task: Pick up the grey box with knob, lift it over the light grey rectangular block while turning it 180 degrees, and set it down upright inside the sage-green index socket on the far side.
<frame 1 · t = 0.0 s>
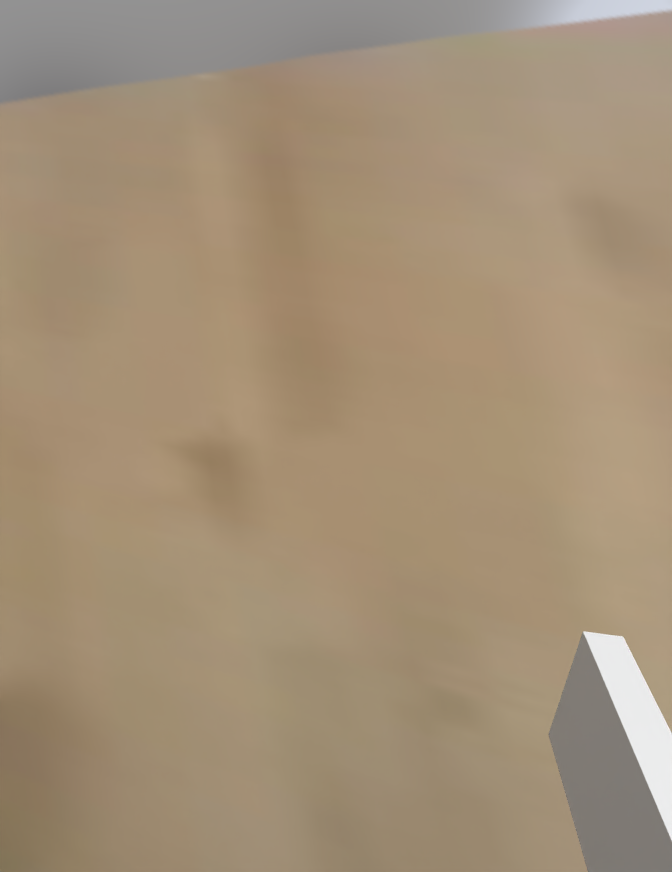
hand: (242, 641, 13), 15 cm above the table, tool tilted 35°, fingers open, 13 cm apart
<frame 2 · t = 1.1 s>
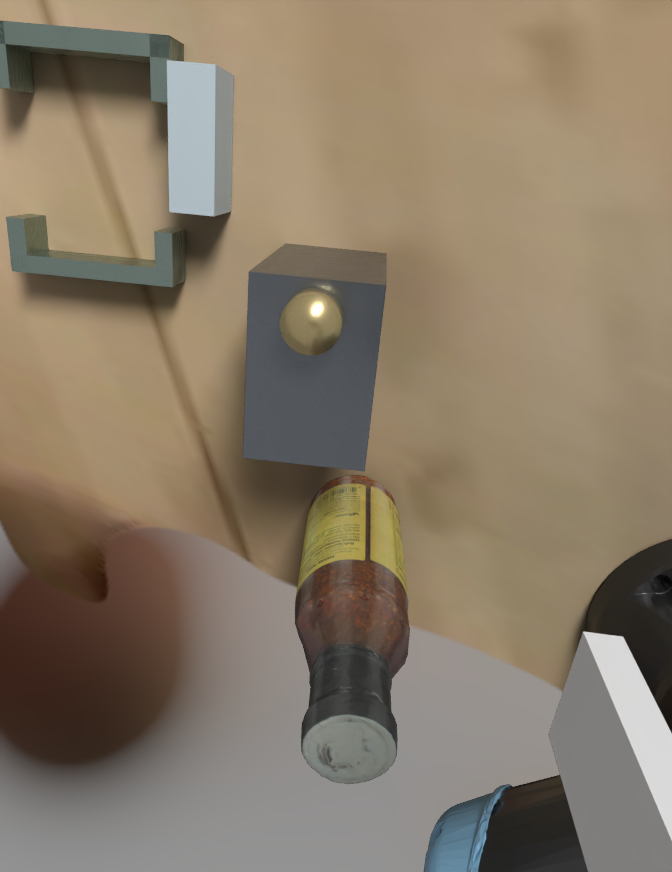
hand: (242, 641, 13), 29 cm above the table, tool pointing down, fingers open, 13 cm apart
sauce bottle: (357, 509, 45), on the table
grey box with knob: (329, 323, 39), on the table
index socket: (103, 162, 37), on the table
light grey rectangular block: (211, 144, 36), on the table
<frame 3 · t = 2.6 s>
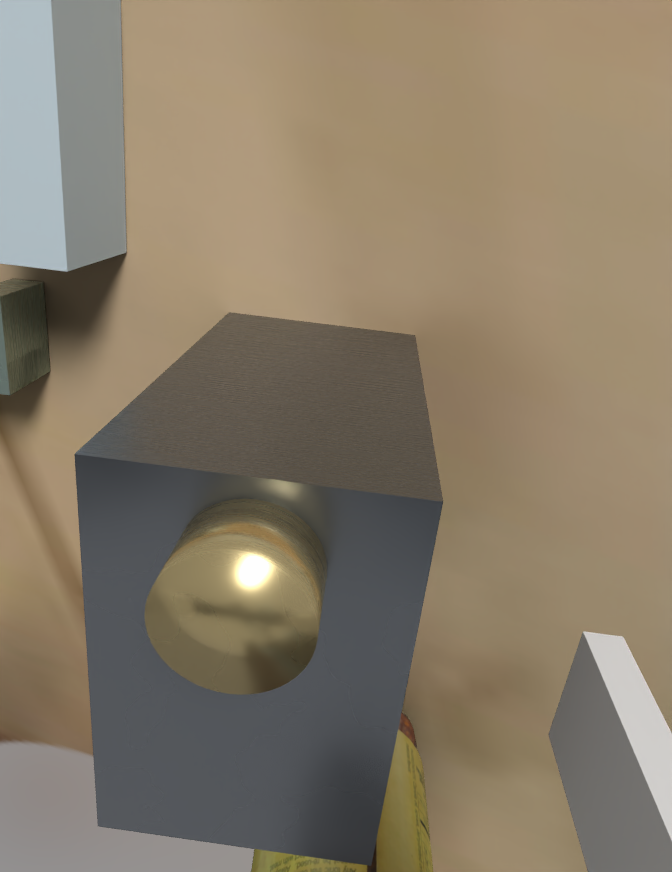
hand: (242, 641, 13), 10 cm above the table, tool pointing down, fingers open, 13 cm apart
sauce bottle: (351, 731, 27), on the table
grey box with knob: (309, 450, 22), on the table
light grey rectangular block: (83, 124, 18), on the table
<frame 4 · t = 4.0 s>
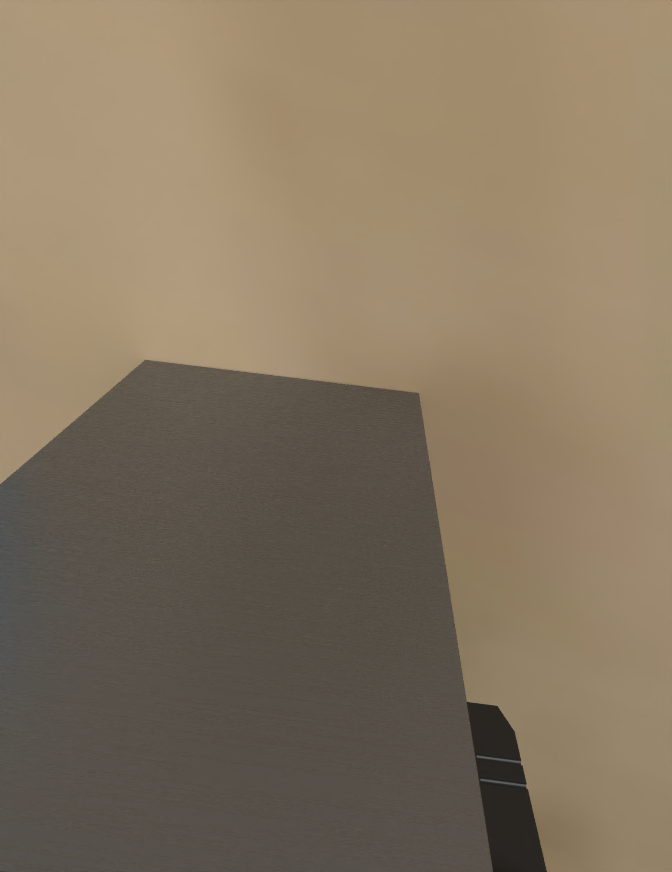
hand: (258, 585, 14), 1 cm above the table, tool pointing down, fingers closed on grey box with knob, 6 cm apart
grey box with knob: (268, 549, 16), on the table, touching gripper
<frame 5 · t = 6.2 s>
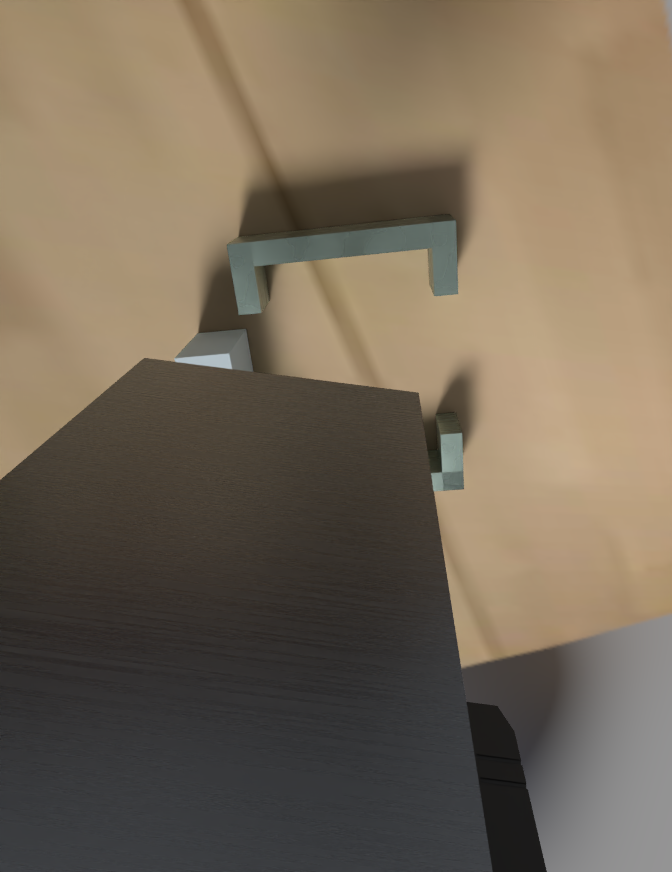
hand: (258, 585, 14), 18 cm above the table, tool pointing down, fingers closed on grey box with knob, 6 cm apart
grey box with knob: (267, 548, 16), point 17 cm above the table, touching gripper
index socket: (355, 359, 31), on the table
light grey rectangular block: (234, 398, 32), on the table
when the fingers open (3 cm above the table, at t = 8.4 s): grey box with knob drops 1 cm, on the table.
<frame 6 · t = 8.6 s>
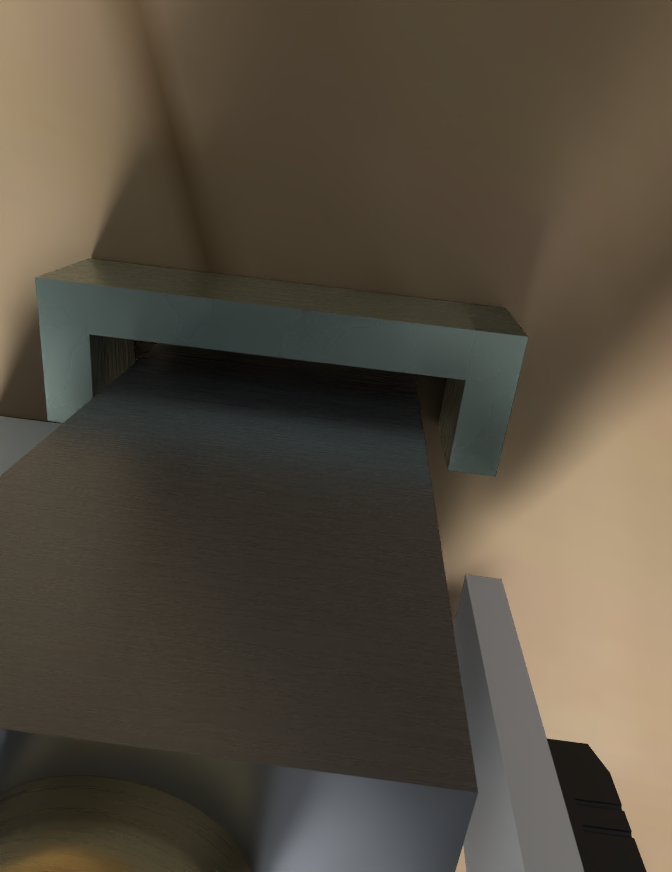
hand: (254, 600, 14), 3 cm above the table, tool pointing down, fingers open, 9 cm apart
grey box with knob: (276, 514, 17), on the table
index socket: (277, 518, 17), on the table
light grey rectangular block: (49, 536, 18), on the table
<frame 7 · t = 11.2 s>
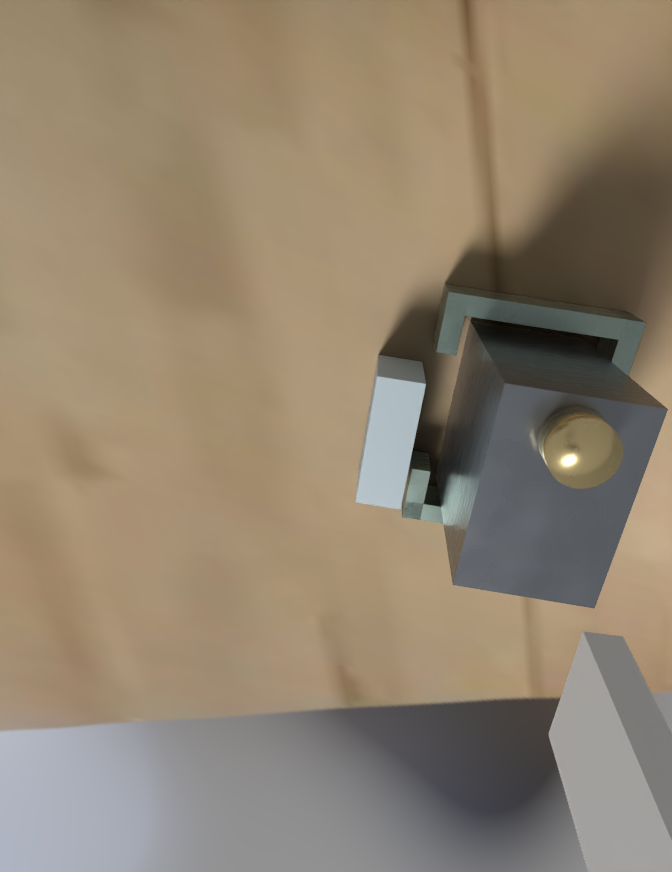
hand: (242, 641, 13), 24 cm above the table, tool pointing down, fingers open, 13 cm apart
grey box with knob: (505, 408, 35), on the table
index socket: (506, 410, 35), on the table
light grey rectangular block: (389, 417, 36), on the table
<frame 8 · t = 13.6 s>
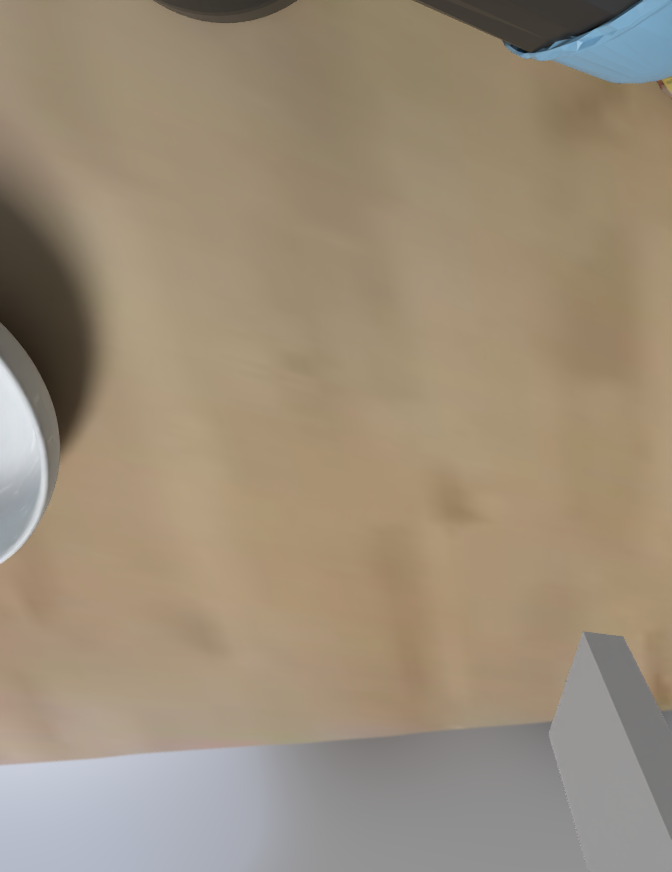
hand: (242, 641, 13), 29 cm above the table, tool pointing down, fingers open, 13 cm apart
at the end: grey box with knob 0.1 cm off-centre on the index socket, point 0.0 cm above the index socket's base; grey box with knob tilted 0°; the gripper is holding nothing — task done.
